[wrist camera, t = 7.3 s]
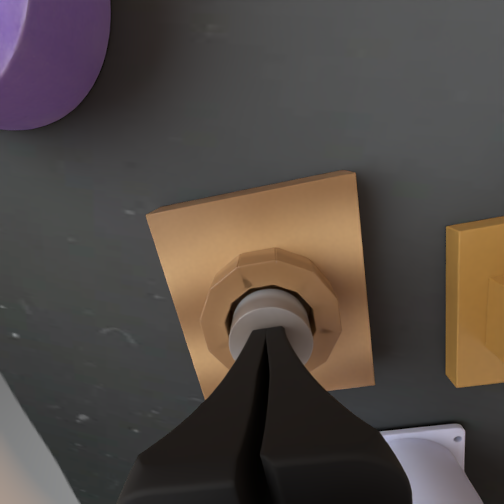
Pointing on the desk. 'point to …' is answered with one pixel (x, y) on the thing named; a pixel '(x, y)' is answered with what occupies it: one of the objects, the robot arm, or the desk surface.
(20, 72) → the tape roll
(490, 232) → the bracket
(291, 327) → the button
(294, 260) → the button housing
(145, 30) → the desk surface
